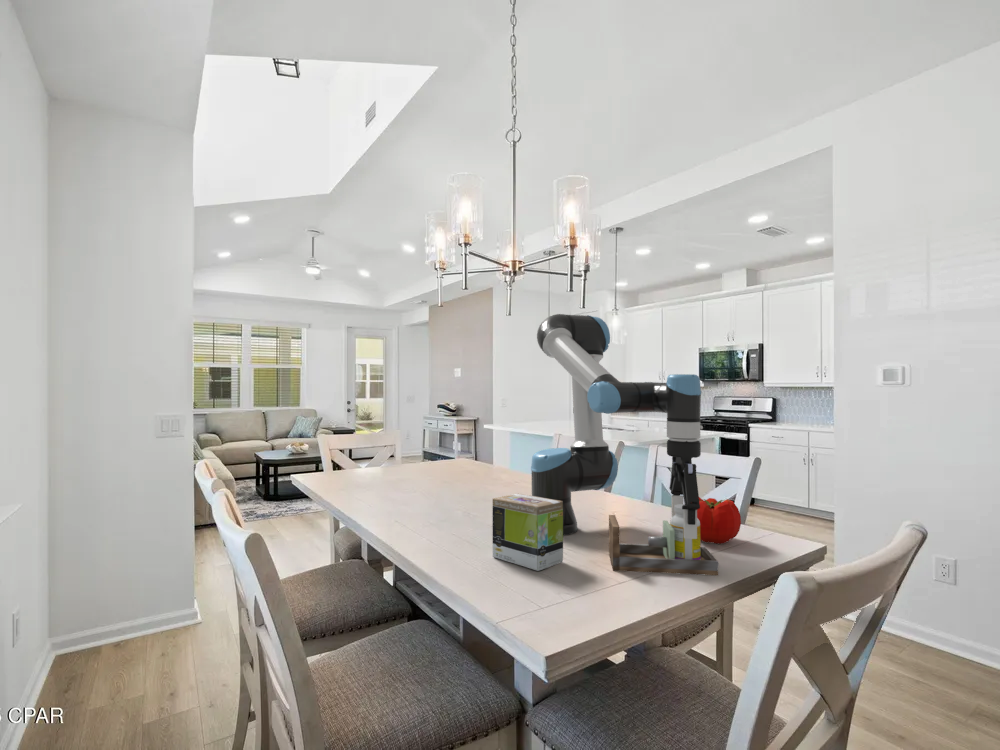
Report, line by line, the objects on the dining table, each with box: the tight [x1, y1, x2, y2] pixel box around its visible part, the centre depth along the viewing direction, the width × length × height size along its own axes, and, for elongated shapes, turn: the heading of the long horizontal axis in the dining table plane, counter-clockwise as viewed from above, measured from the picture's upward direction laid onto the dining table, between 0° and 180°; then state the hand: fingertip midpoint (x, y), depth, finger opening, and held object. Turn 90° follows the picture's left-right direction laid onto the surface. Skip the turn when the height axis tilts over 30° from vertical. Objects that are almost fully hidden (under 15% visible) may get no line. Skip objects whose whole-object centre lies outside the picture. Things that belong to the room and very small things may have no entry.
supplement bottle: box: [669, 503, 702, 560], centre depth 122 cm, size 7×7×13 cm
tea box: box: [491, 493, 564, 572], centre depth 126 cm, size 15×10×15 cm, turn 45°
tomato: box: [697, 496, 742, 545], centre depth 142 cm, size 13×14×12 cm
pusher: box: [647, 520, 675, 559], centre depth 123 cm, size 5×9×8 cm, turn 173°
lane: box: [608, 514, 719, 576], centre depth 123 cm, size 23×11×10 cm, turn 83°
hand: (683, 529), depth 122 cm, fingers open, 13 cm apart
